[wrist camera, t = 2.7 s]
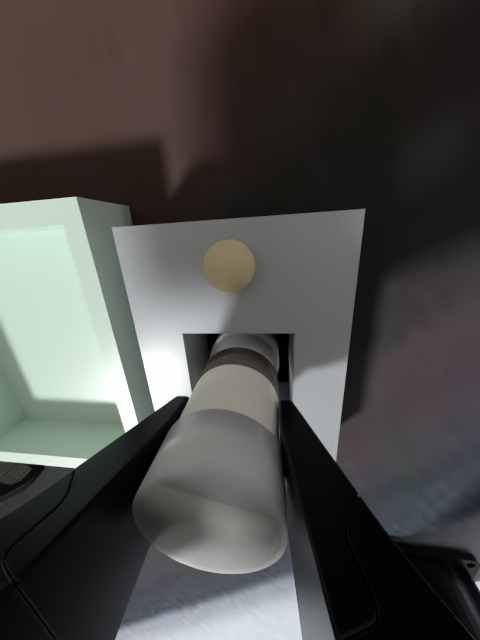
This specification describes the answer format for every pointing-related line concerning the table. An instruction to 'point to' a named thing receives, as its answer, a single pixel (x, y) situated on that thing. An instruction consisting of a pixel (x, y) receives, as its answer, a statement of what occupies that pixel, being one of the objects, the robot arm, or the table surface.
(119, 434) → the tray
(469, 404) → the table surface
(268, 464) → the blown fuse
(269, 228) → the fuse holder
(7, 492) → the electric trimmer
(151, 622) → the table surface
